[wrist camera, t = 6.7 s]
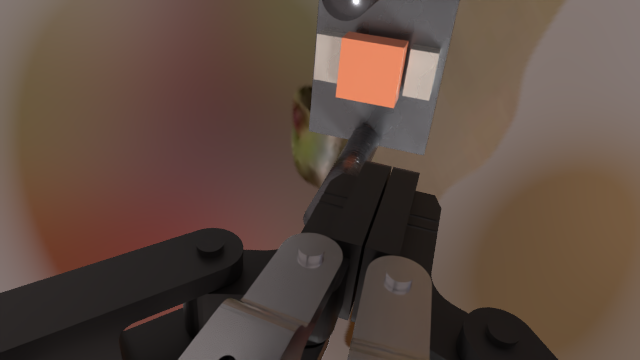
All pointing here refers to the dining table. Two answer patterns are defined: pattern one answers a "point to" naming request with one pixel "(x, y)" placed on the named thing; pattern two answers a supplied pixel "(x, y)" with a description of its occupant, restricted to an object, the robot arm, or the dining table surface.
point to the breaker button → (371, 69)
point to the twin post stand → (416, 85)
